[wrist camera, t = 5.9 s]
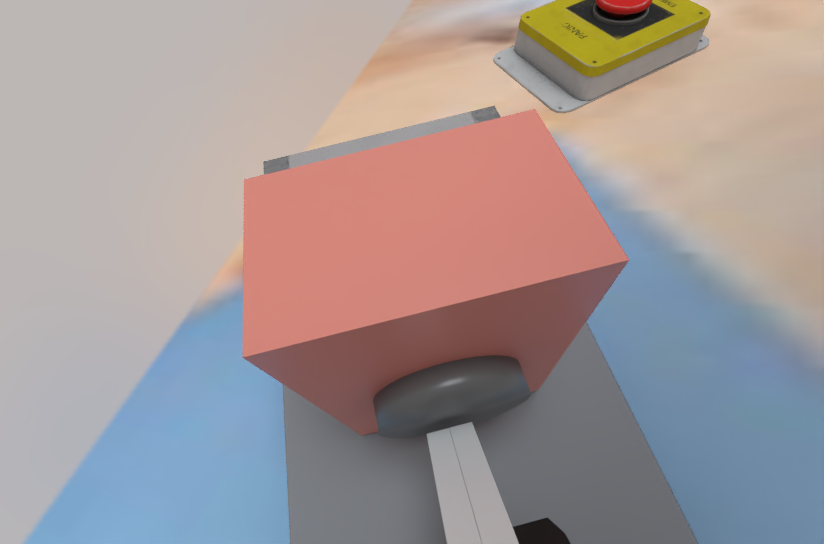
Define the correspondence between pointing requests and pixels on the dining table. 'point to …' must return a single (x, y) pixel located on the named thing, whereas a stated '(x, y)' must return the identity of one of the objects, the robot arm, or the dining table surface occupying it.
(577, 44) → the emergency button
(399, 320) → the pink box with dome
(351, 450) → the stand board
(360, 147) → the grey box holder bracket
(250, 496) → the dining table surface
